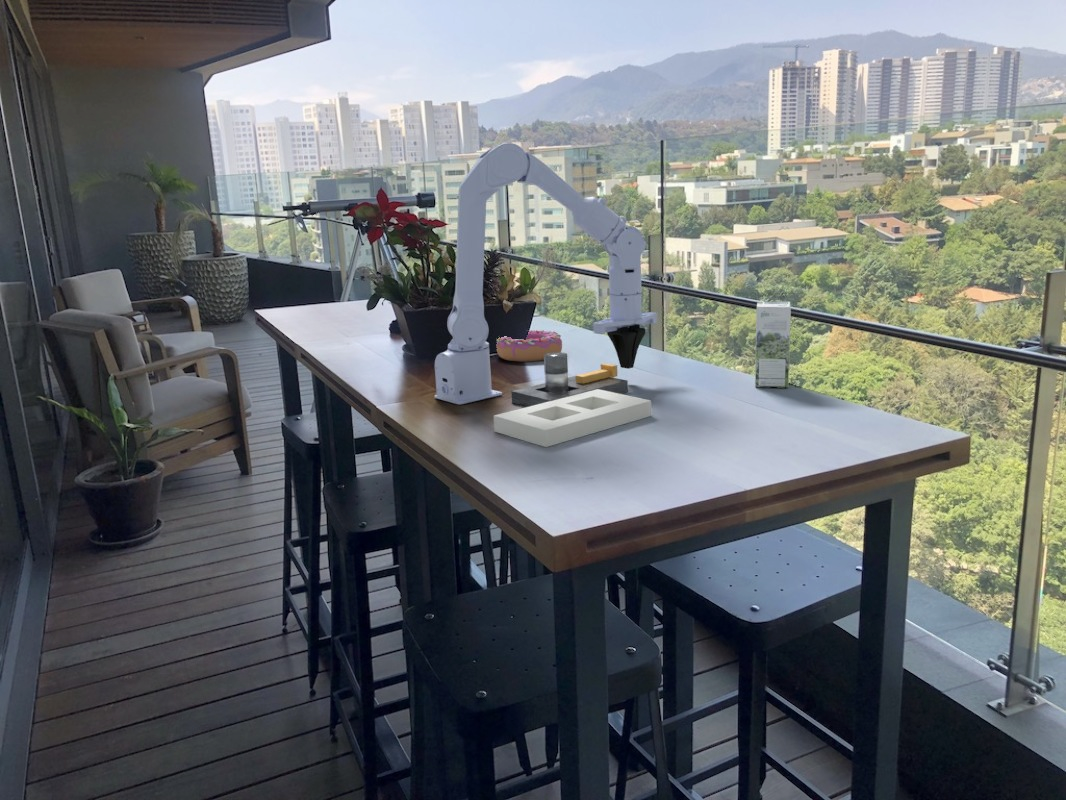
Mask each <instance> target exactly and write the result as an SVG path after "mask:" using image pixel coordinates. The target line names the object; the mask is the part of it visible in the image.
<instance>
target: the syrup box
mask: <svg viewBox="0 0 1066 800" xmlns="http://www.w3.org/2000/svg"><path fill="white" fill-rule="evenodd" d="M791 307H792V306H791V302H790V301H758V302H757V303H756V315H755V322H756V323H755V364H754V365H755V372H754V373H755V374H754V386H755V388H769V389H771V388H770V387H777V389H786V388H785V387H788V388H789V377H790V376H789V375H790V373H789V371H790V345H791V315H792V311H791V310H792V308H791Z"/></svg>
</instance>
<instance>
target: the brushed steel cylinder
mask: <svg viewBox="0 0 1066 800" xmlns="http://www.w3.org/2000/svg"><path fill="white" fill-rule="evenodd" d="M568 362H569V361H568V353H565V352H561V353H547V354H544V360H543V365H544V366H543V367H544V368H543V369H544V372H543V373H544V383H545V392H547V393H551V394H559V393H563V392H567V391H569V388H568V378H569V370H568V369H569V365H568Z"/></svg>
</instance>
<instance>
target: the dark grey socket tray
mask: <svg viewBox="0 0 1066 800" xmlns="http://www.w3.org/2000/svg"><path fill="white" fill-rule="evenodd" d="M628 382H629V381H628V380H627V379H621V378H617V377H608V378H604V379H600V380H596V381H592V382H588V383H584V384H582V383H577V382H576V375H574V376H568V388H569V391H567V392H563V393H559V394H551V393H547V392H545V382H543V383H540V384H536V385H531V386H528V387H523V388H519V389H514V390H511V403H513V404H516V405H521V406H524V407H530V406H533V405H537V404H541V403H545V402H549V401H553V400H557V399H561V398H565V397H569V396H573V395H577V394H581V393H585V392H588V391H592V390H596V389H600V390H604V391H609V392H614V393H618V394H624V393H628V392H629V387H628V385H629V383H628Z"/></svg>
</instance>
